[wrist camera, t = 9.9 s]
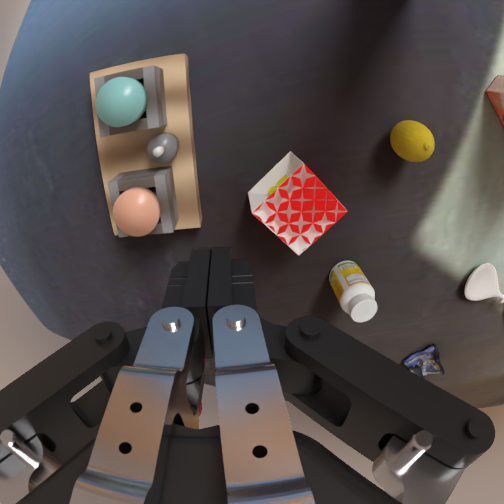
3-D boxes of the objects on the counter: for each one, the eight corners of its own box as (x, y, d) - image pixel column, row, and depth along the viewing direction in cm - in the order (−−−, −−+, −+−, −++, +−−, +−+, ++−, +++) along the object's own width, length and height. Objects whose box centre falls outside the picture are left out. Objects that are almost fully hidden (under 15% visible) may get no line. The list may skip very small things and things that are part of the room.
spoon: (508, 317, 61) (515, 324, 57) (452, 289, 53) (461, 299, 50) (526, 290, 57) (533, 297, 54) (476, 252, 49) (486, 261, 46)
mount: (98, 74, 32) (73, 71, 25) (187, 56, 32) (178, 47, 25) (121, 226, 42) (103, 251, 35) (202, 218, 42) (197, 243, 36)
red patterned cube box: (290, 150, 39) (304, 163, 32) (328, 191, 42) (347, 211, 35) (247, 192, 41) (251, 213, 34) (287, 229, 44) (298, 256, 37)
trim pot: (152, 134, 34) (140, 139, 29) (178, 130, 34) (170, 135, 29) (155, 159, 35) (144, 168, 31) (180, 156, 35) (173, 165, 31)
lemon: (382, 156, 40) (411, 170, 33) (379, 118, 37) (408, 125, 30) (413, 153, 39) (445, 166, 32) (411, 116, 37) (444, 123, 30)
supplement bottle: (346, 253, 47) (369, 288, 38) (365, 271, 48) (388, 307, 40) (321, 276, 48) (338, 314, 40) (341, 293, 50) (360, 331, 42)
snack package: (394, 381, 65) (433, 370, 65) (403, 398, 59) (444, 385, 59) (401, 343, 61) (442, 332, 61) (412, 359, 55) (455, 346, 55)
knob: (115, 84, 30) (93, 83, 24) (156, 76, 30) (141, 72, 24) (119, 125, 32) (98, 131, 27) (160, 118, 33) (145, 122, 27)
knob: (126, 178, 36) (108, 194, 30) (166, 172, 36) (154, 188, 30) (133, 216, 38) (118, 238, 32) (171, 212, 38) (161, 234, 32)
